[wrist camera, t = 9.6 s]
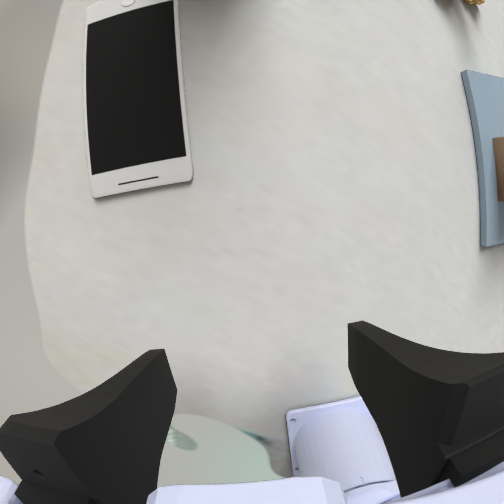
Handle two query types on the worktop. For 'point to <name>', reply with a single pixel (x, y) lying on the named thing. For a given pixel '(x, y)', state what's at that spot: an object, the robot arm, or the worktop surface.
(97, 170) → the smartphone
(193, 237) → the worktop surface
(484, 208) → the slate board
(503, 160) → the walnut cube
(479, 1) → the cream long lumpy piece
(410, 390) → the robot arm
